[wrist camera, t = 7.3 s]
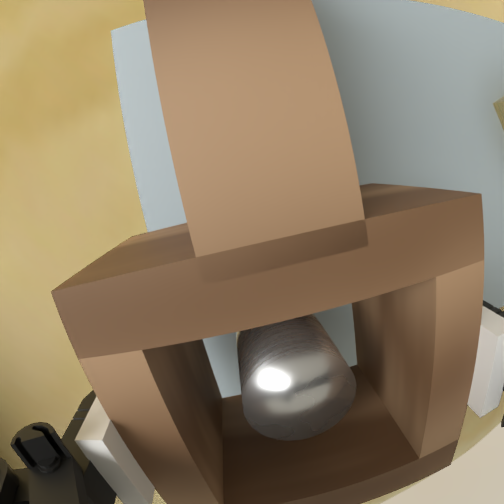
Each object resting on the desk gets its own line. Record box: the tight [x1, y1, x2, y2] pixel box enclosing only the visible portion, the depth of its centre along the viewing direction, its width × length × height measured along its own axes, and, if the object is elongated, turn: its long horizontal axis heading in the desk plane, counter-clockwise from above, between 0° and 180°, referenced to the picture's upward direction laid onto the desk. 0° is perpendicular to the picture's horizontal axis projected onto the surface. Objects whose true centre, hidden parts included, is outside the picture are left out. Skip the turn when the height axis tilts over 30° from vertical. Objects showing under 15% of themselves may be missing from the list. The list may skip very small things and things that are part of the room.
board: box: [111, 0, 504, 398], centre depth 15 cm, size 26×20×1 cm
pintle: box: [235, 313, 356, 441], centre depth 12 cm, size 3×3×8 cm
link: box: [51, 0, 484, 504], centre depth 8 cm, size 21×9×6 cm, turn 12°
